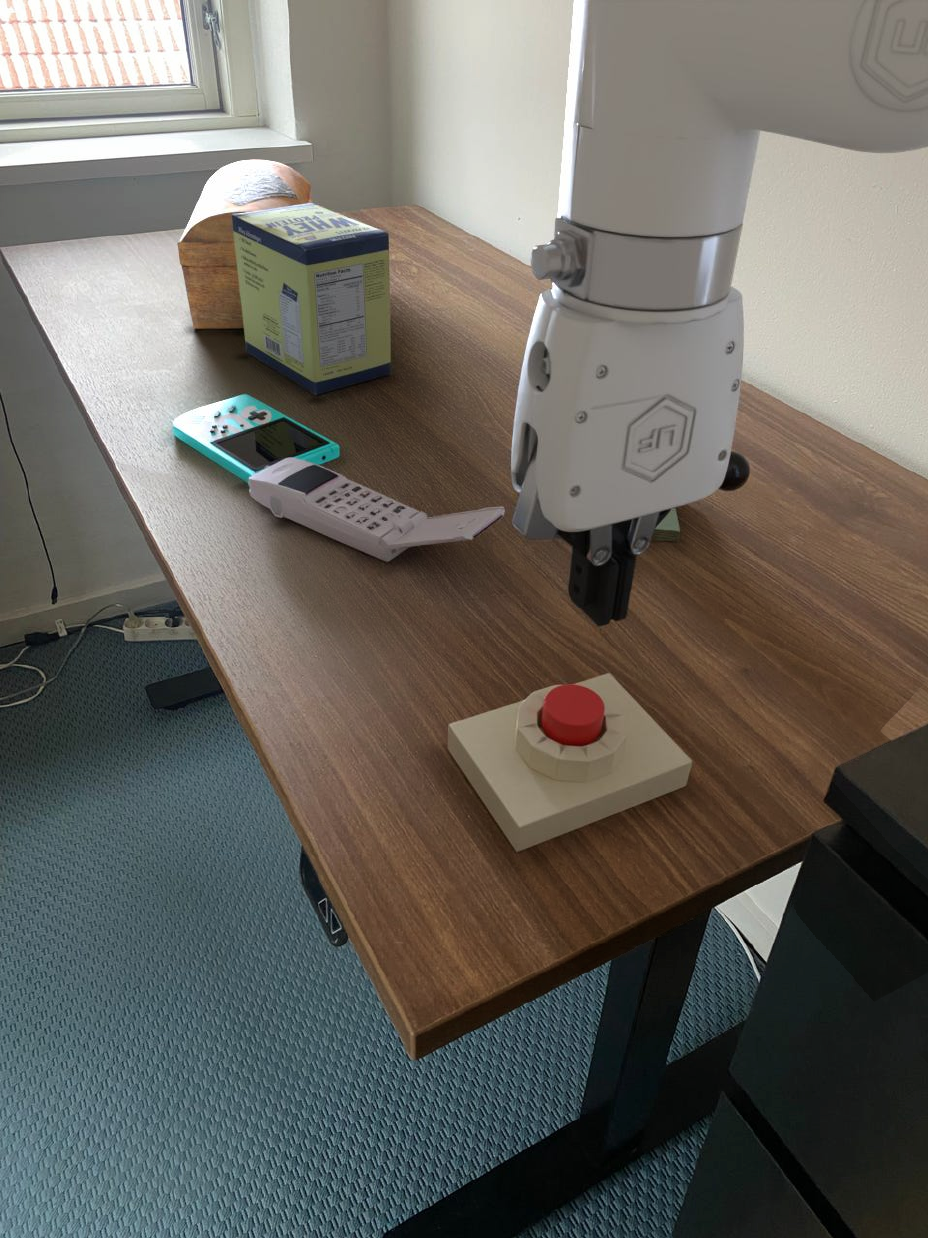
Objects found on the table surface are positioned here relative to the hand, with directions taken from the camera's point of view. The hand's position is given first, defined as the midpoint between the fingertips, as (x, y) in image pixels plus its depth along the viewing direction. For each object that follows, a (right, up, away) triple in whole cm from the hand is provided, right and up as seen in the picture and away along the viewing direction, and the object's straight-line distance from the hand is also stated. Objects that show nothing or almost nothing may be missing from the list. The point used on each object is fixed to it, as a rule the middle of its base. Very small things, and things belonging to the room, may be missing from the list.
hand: (597, 608), depth 50 cm
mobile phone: (-16, +7, +28) cm, 33 cm away
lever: (+10, +14, +29) cm, 34 cm away
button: (-1, -7, +5) cm, 9 cm away
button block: (-1, -10, +8) cm, 12 cm away
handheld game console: (-28, +17, +41) cm, 52 cm away
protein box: (-24, +29, +57) cm, 69 cm away
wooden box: (-35, +44, +77) cm, 95 cm away
